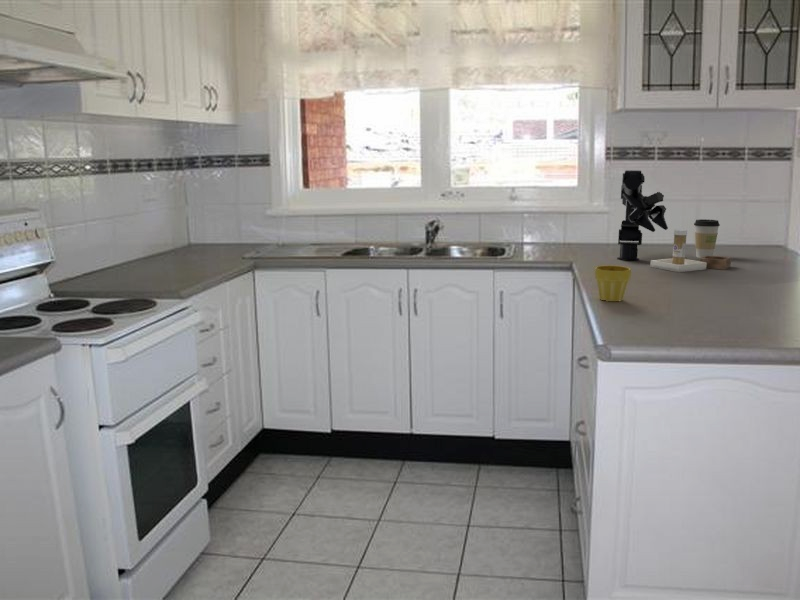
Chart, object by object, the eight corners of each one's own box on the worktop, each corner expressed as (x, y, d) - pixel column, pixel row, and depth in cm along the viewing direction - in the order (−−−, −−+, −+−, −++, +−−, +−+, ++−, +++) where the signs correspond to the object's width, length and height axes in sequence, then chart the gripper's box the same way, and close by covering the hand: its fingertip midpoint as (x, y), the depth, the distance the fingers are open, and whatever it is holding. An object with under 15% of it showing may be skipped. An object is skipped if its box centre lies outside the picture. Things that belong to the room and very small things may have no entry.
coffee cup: (719, 259, 312) (722, 221, 309) (693, 258, 314) (696, 221, 311) (714, 255, 321) (717, 219, 318) (689, 255, 323) (692, 219, 320)
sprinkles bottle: (669, 265, 291) (671, 229, 288) (676, 263, 294) (678, 228, 291) (680, 266, 288) (683, 230, 285) (687, 265, 290) (689, 229, 288)
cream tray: (650, 266, 293) (650, 260, 293) (677, 264, 300) (677, 257, 299) (678, 272, 281) (679, 265, 281) (706, 269, 288) (706, 262, 287)
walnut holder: (699, 267, 292) (700, 258, 291) (705, 264, 299) (706, 255, 298) (724, 269, 286) (725, 260, 286) (730, 266, 294) (731, 257, 293)
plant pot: (631, 303, 228) (633, 270, 226) (594, 302, 229) (596, 270, 227) (627, 297, 238) (629, 265, 236) (592, 296, 239) (594, 264, 237)
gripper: (637, 186, 288) (662, 217, 282) (663, 184, 300) (688, 214, 294) (617, 206, 295) (642, 237, 289) (643, 203, 307) (667, 233, 302)
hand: (660, 230), depth 293 cm, fingers open, 9 cm apart
